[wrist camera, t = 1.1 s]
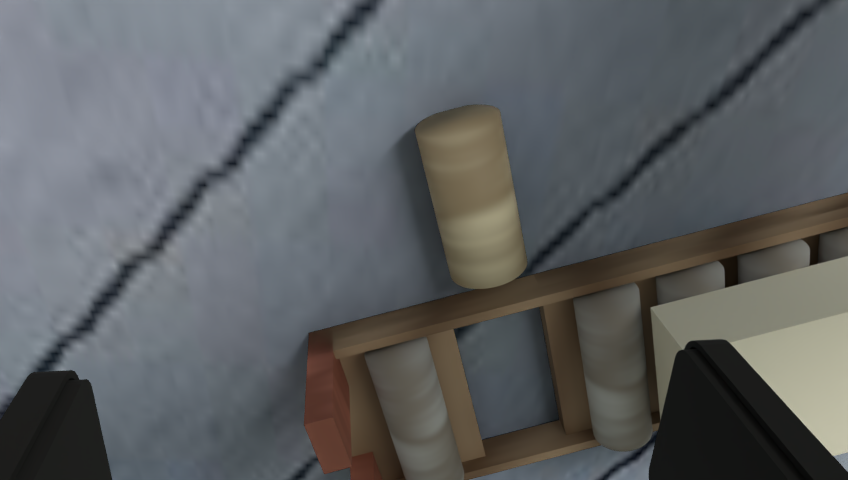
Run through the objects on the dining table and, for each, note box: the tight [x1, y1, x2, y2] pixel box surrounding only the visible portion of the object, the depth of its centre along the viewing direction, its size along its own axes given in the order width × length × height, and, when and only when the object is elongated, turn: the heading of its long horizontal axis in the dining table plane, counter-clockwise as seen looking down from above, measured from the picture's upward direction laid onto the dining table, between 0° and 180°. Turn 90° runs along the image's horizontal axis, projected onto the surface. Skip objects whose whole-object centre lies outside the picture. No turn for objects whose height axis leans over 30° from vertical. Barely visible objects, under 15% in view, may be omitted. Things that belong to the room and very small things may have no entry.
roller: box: [415, 105, 527, 289], centre depth 30 cm, size 7×4×4 cm, turn 13°
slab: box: [650, 256, 848, 456], centre depth 31 cm, size 12×8×4 cm, turn 103°
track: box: [304, 193, 848, 480], centre depth 33 cm, size 28×10×6 cm, turn 103°
